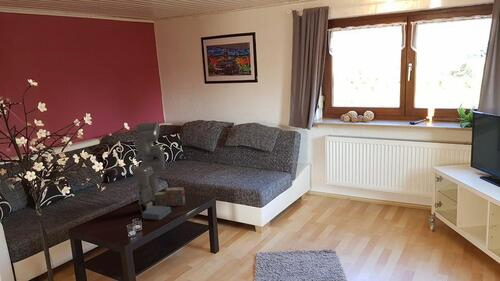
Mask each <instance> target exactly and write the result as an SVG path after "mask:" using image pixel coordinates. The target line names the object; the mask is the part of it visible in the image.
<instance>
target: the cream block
mask: <svg viewBox="0 0 500 281" xmlns="http://www.w3.org/2000/svg"><path fill="white" fill-rule="evenodd" d="M142 204H143V203H142ZM139 206H140V205H139ZM153 206H154V205H153V201H152V202H149V201H148V202H146V203H145V207H146V210H147V209H149V208H151V207H153ZM140 212H141V213H142V208H141V206H140Z"/></svg>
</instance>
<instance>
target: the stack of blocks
mask: <svg viewBox="0 0 500 281" xmlns="http://www.w3.org/2000/svg"><path fill="white" fill-rule="evenodd" d="M185 194H186V193H185V187H167V189H166V190H165V191H159V192H157V193H156V194H155V195H154V197H155V200H154V204H155V205H154V206H165V207H179V206H184V205H185V204H186V196H185Z"/></svg>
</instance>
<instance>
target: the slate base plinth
mask: <svg viewBox="0 0 500 281" xmlns="http://www.w3.org/2000/svg"><path fill="white" fill-rule="evenodd" d="M169 213H170V214H171V213H172V206H156V205H153V207H151V208H149V209H147V210H146V211H144V212H141V216H142V219H144V220H145V219H146V220H155V221H160V220H162V219H163V218H165V217H166V216H168V215H170V214H169Z"/></svg>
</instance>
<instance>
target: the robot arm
mask: <svg viewBox="0 0 500 281" xmlns="http://www.w3.org/2000/svg"><path fill="white" fill-rule="evenodd" d="M135 127H136V132H137V153H136V154H135V156H134V157H133V159H136V161H137V163H138V162H139V160H140V159H142V158H143V157H144V158H147V159H144V160H143V161H142V162H141V166H136V165H134V164H133V161H132V163H131V164H132V165H131V172H132V175H133V177H135V178H137V185H138V186H137V187H138V202H137V204H138V205H139V206H141V208H142V212H144V211H146V207H145V203H146V202H148V201H149V202H152V203H153V201H154V202H155V197H154V195H155V194H156V193H157V192H160V191H159V190H160V188H159V182H158V181H159V180H158V176H157V173H156V172H160V171H164V170H165V169H166V158H165V149H164V147H163V145H162V144H155V143H156V142H157V141H158V140H159V136H160V129H161V128H160V124H159V123H158V122H143V123H138V124H137V125H136V126H135ZM154 142H155V143H154ZM149 158H150V159H149ZM142 203H143V204H142ZM141 208H140V209H141ZM142 212H141V213H142Z"/></svg>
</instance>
